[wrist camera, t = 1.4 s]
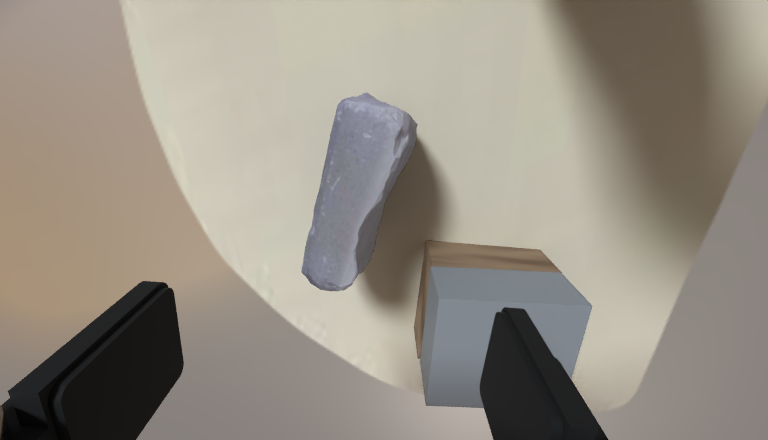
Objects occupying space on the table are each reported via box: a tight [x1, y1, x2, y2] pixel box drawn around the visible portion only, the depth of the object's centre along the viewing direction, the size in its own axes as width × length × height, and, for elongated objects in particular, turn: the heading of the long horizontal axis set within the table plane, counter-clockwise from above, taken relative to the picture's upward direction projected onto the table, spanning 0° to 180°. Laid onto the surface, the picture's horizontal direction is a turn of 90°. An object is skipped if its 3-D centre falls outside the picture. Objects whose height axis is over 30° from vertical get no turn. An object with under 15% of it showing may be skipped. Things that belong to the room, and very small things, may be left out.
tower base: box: [414, 241, 562, 359], centre depth 32 cm, size 9×10×4 cm
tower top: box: [420, 266, 592, 408], centre depth 27 cm, size 9×10×4 cm
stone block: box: [302, 93, 417, 291], centre depth 25 cm, size 12×5×10 cm, turn 162°
